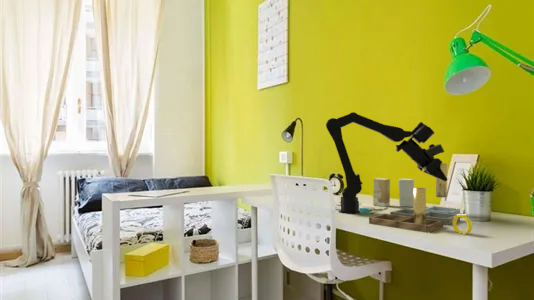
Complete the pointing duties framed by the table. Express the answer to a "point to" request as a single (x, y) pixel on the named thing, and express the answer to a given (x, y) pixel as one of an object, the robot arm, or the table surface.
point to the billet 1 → (419, 205)
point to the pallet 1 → (405, 222)
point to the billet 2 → (442, 183)
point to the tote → (443, 210)
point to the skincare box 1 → (381, 192)
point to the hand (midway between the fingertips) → (445, 179)
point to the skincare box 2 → (406, 192)
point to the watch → (466, 221)
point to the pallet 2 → (429, 215)
